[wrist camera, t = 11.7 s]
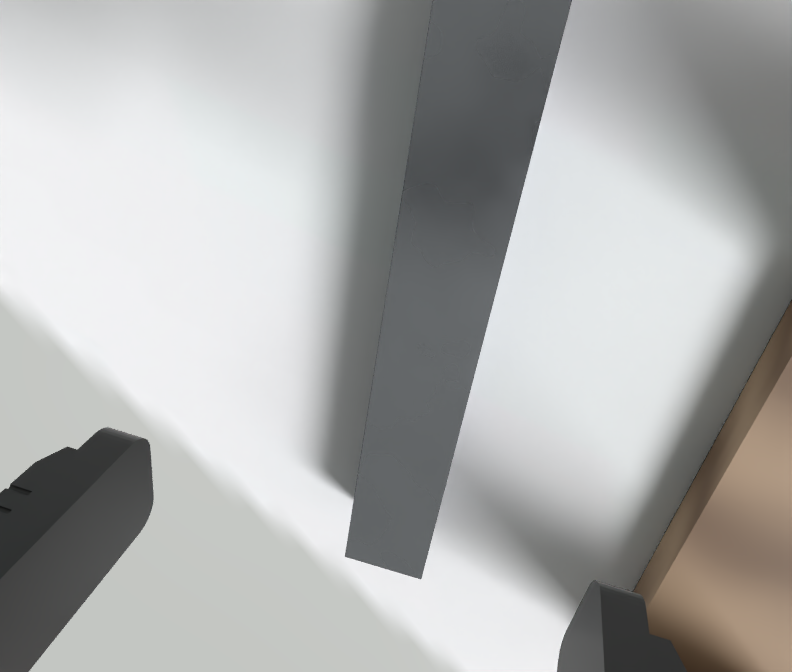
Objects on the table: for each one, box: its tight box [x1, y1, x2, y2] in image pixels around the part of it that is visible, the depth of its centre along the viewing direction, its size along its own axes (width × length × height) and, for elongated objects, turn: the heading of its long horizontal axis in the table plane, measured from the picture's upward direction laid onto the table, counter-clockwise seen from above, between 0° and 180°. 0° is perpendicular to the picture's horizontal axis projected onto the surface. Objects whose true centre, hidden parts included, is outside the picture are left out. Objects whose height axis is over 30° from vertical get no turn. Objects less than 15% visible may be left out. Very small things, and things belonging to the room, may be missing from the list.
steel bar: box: [345, 0, 572, 579], centre depth 19 cm, size 20×3×3 cm, turn 171°
